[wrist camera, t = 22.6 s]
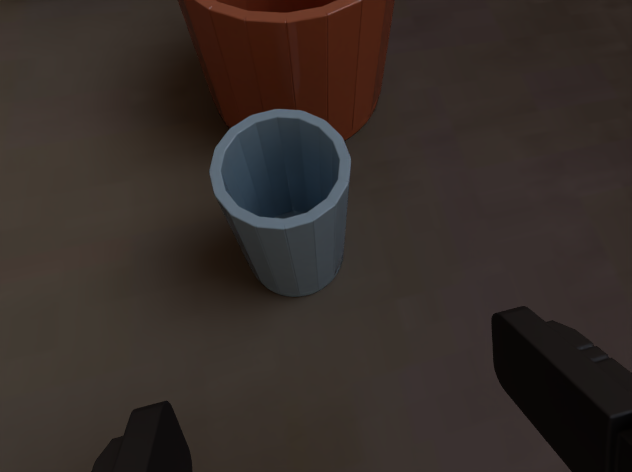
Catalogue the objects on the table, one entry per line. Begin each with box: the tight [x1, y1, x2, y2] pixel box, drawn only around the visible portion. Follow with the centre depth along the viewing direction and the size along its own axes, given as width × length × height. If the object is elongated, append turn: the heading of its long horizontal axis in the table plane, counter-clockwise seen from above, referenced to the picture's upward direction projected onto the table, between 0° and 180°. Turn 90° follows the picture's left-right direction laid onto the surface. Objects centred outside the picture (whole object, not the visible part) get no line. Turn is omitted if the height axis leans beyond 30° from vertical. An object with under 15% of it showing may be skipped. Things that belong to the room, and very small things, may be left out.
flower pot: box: [178, 0, 395, 141], centre depth 28 cm, size 13×13×11 cm
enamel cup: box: [209, 109, 351, 297], centre depth 23 cm, size 6×6×10 cm
